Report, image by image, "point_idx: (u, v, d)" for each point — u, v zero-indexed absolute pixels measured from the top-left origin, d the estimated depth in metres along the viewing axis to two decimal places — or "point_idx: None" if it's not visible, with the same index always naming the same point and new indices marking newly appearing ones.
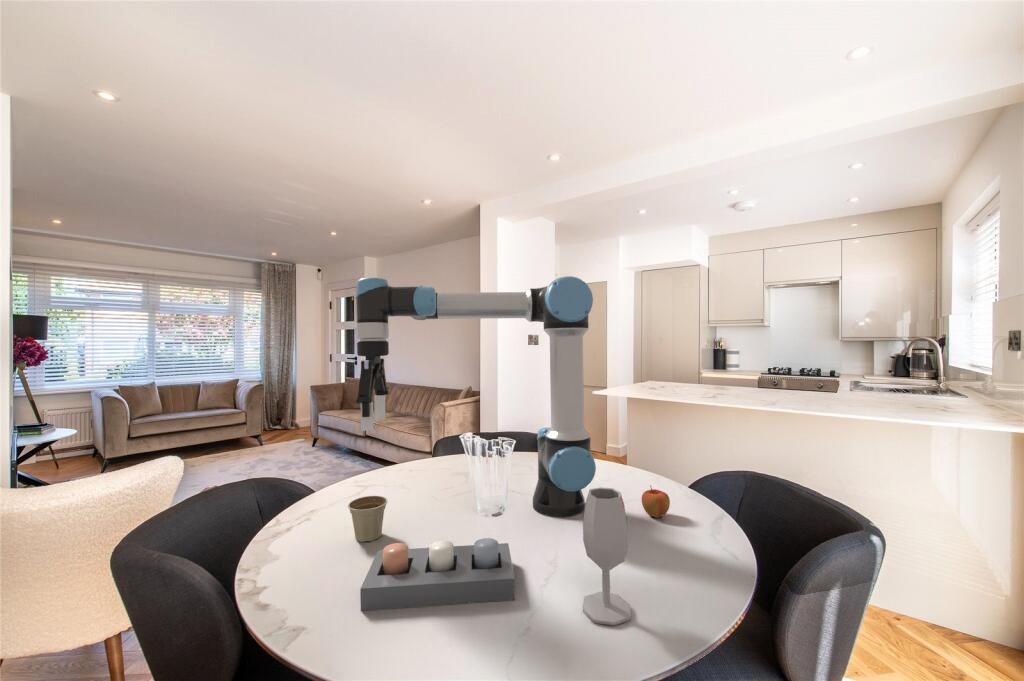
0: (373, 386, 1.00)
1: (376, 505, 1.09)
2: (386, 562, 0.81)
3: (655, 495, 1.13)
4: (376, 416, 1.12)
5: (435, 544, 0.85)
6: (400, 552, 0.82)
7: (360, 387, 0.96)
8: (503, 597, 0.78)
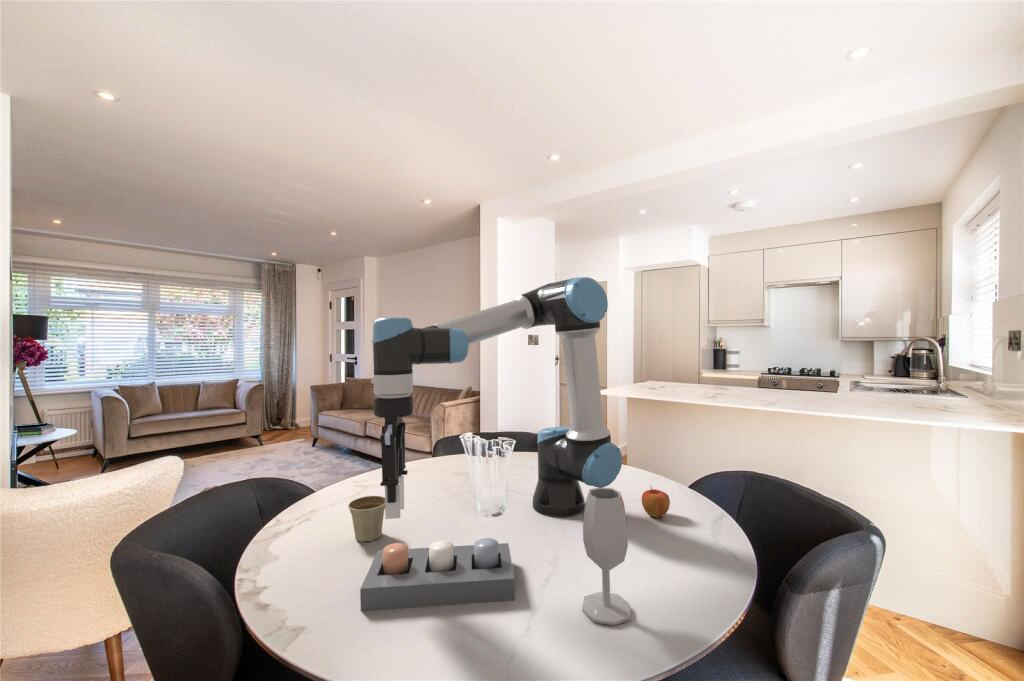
0: (398, 460, 0.81)
1: (376, 505, 1.09)
2: (386, 562, 0.81)
3: (655, 495, 1.13)
4: None
5: (435, 544, 0.85)
6: (400, 552, 0.82)
7: (384, 470, 0.78)
8: (503, 597, 0.78)
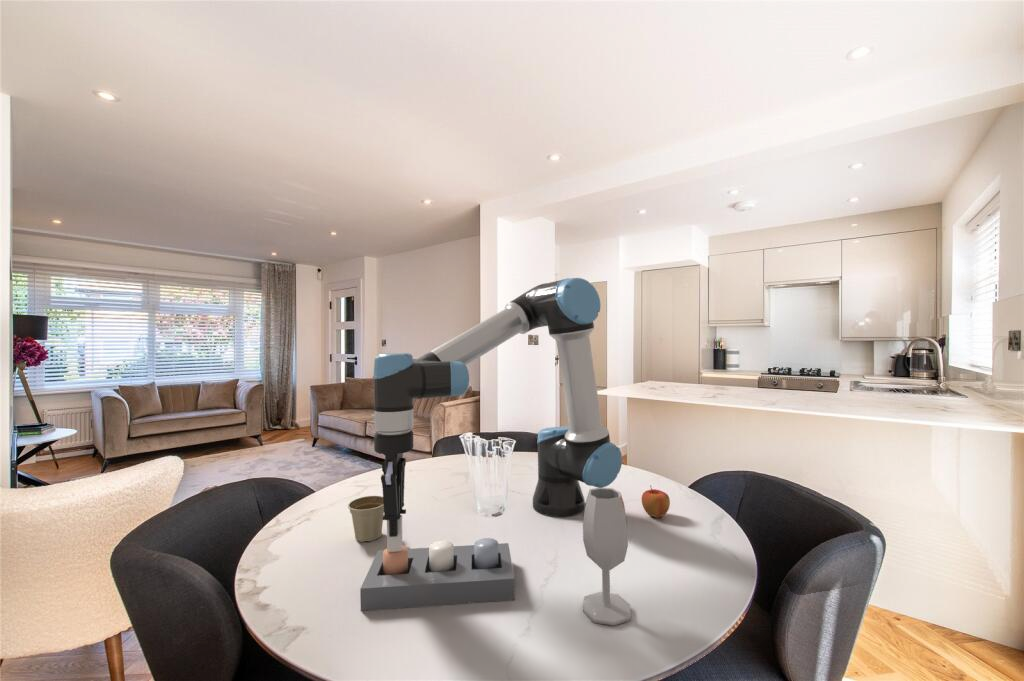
0: (399, 496, 0.82)
1: (376, 505, 1.09)
2: (386, 564, 0.81)
3: (655, 495, 1.13)
4: None
5: (435, 544, 0.85)
6: (400, 554, 0.82)
7: (385, 507, 0.79)
8: (503, 597, 0.78)
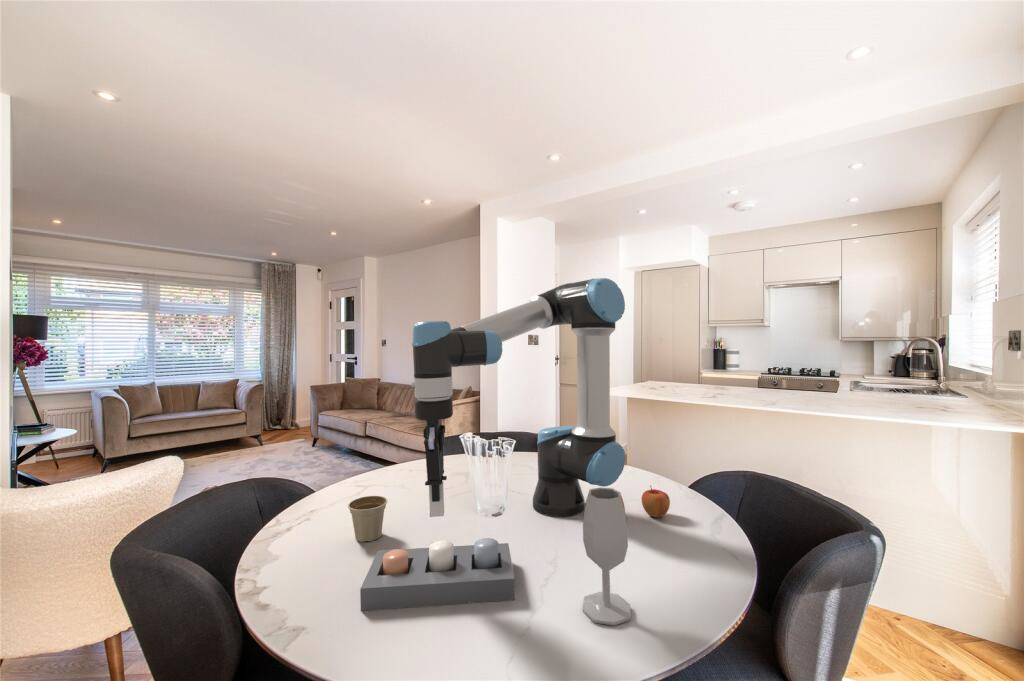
0: (440, 461, 0.83)
1: (376, 505, 1.09)
2: (386, 569, 0.81)
3: (655, 495, 1.13)
4: None
5: (435, 544, 0.85)
6: (400, 558, 0.82)
7: (428, 471, 0.80)
8: (503, 597, 0.78)
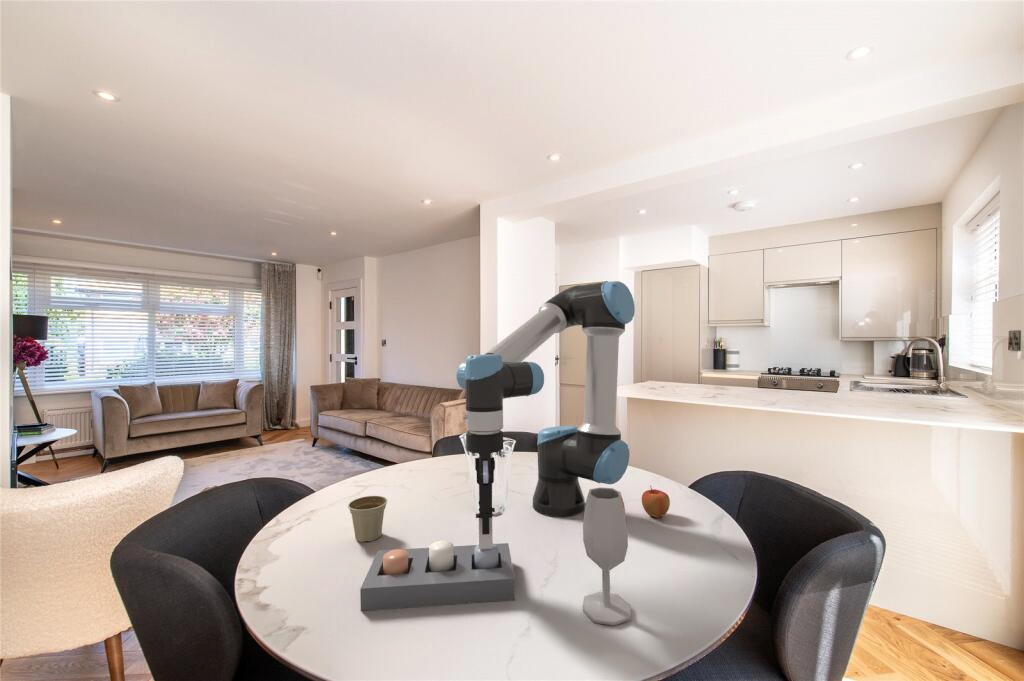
0: None
1: (376, 505, 1.09)
2: (386, 569, 0.81)
3: (655, 495, 1.13)
4: None
5: (435, 544, 0.85)
6: (400, 558, 0.82)
7: (481, 505, 0.81)
8: (503, 597, 0.78)
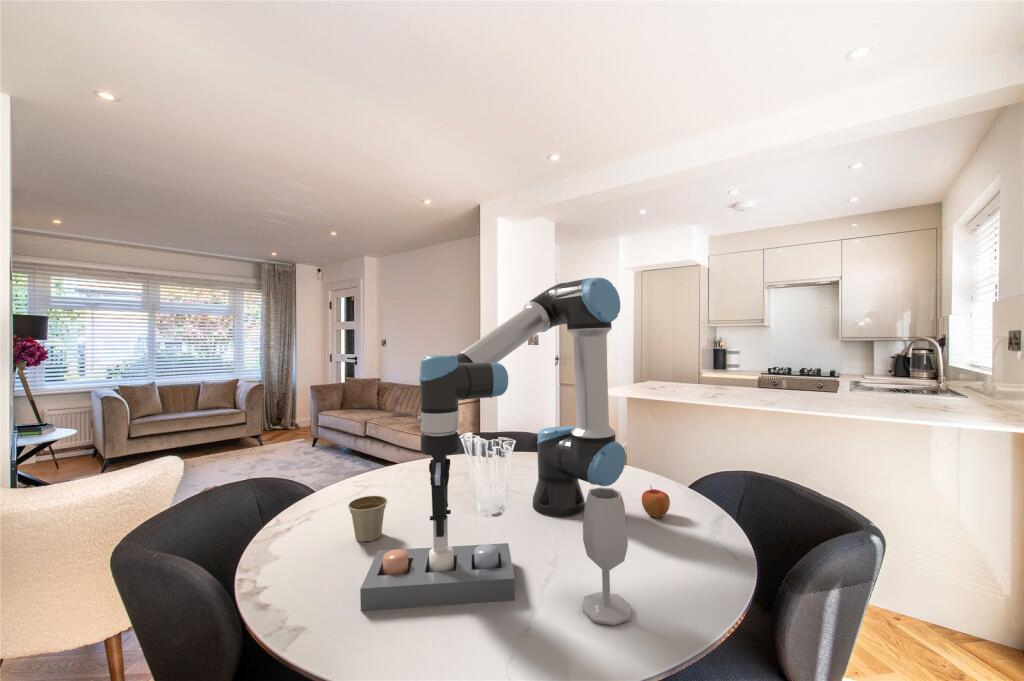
0: (445, 496, 0.83)
1: (376, 505, 1.09)
2: (386, 569, 0.81)
3: (655, 495, 1.13)
4: None
5: None
6: (400, 558, 0.82)
7: (434, 507, 0.80)
8: (503, 597, 0.78)
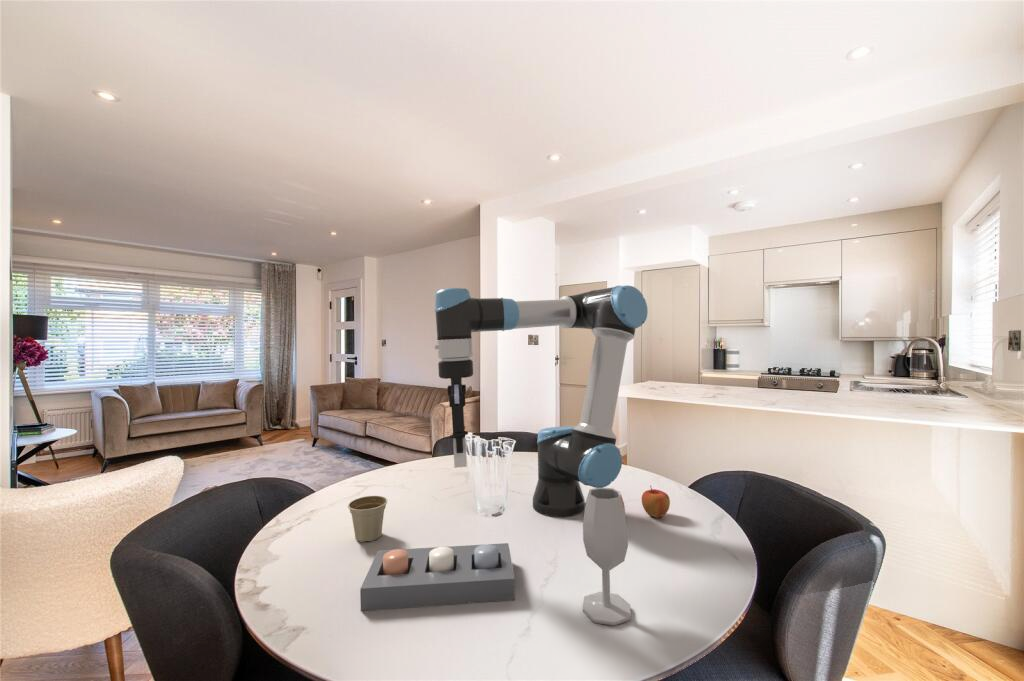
0: None
1: (376, 505, 1.09)
2: (386, 569, 0.81)
3: (655, 495, 1.13)
4: None
5: (435, 550, 0.85)
6: (400, 558, 0.82)
7: (454, 424, 0.88)
8: (503, 597, 0.78)
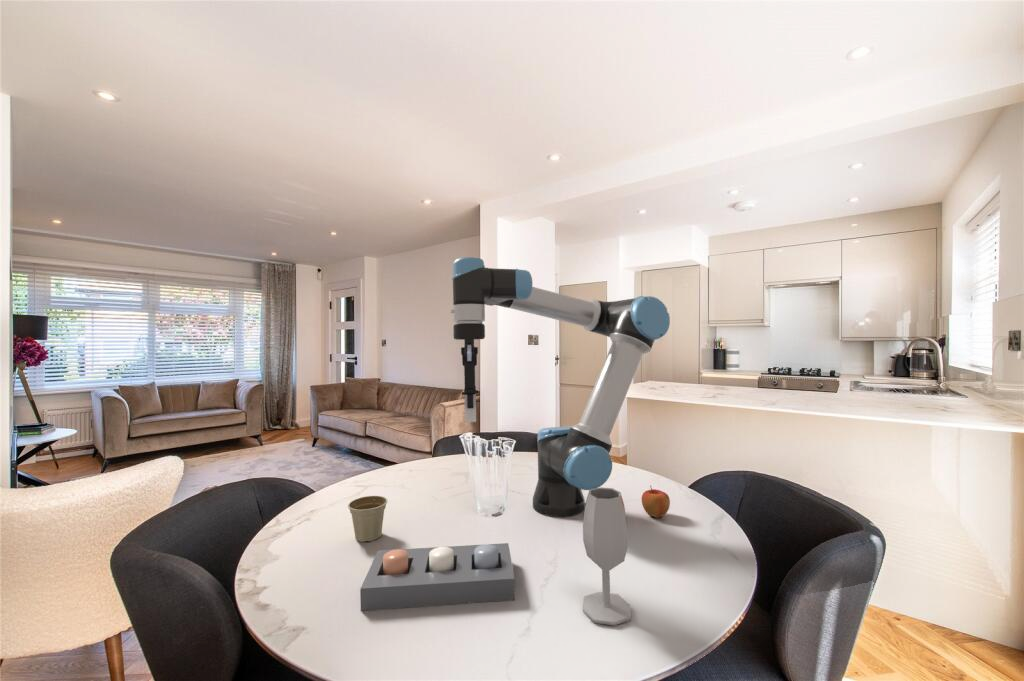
0: None
1: (376, 505, 1.09)
2: (386, 569, 0.81)
3: (655, 495, 1.13)
4: None
5: (435, 550, 0.85)
6: (400, 558, 0.82)
7: (466, 380, 0.97)
8: (503, 597, 0.78)
